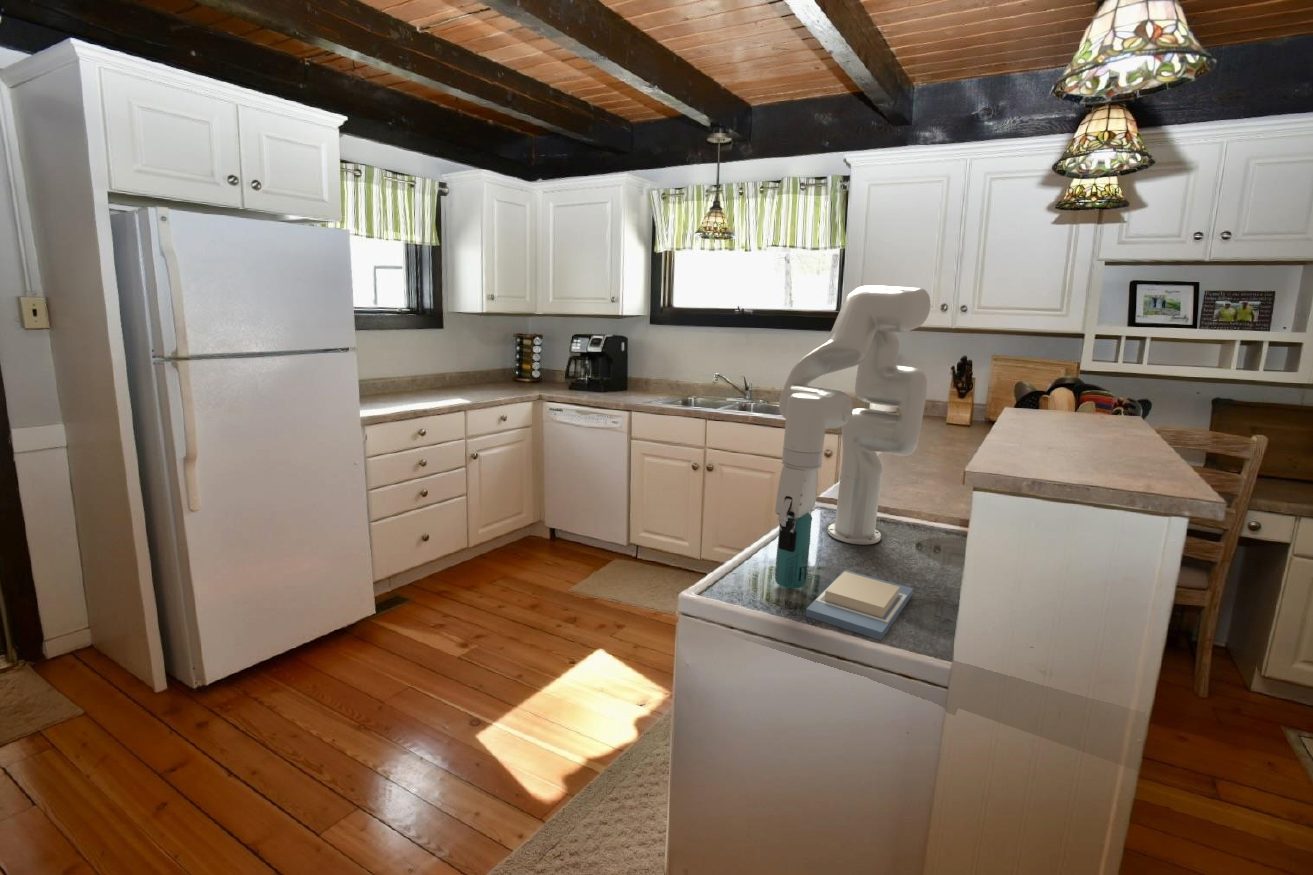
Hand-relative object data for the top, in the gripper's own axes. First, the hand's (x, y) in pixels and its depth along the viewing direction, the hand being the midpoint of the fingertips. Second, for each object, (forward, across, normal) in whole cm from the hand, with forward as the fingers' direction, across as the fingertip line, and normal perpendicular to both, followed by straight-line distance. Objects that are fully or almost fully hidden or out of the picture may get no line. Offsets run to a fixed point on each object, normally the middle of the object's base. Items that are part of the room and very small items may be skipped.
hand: (793, 543), depth 137 cm
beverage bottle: (+10, 0, 0) cm, 10 cm away
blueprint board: (+10, -2, +14) cm, 17 cm away
